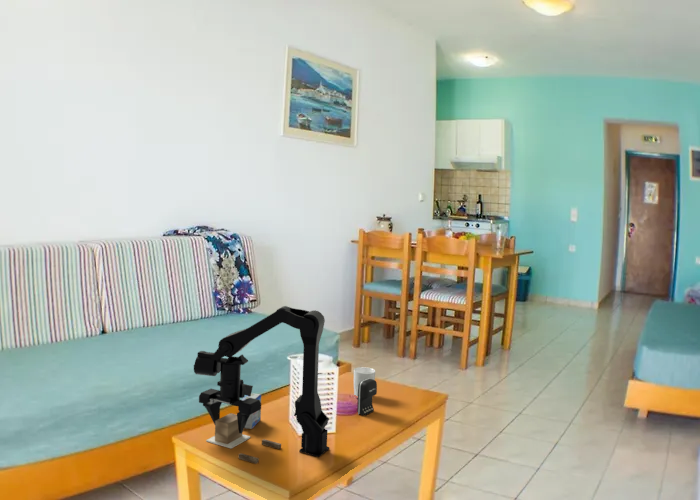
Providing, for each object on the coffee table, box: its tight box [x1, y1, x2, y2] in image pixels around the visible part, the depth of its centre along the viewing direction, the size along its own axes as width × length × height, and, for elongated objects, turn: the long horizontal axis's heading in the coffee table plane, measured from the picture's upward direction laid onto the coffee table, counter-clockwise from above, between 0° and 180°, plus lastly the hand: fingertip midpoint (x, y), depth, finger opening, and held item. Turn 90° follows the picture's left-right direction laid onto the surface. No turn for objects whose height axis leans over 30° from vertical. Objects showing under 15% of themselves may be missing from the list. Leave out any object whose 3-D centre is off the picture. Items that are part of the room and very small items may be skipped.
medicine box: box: [238, 392, 262, 430], centre depth 186 cm, size 8×4×9 cm, turn 168°
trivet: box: [205, 433, 251, 449], centre depth 174 cm, size 9×9×1 cm
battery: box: [356, 378, 378, 416], centre depth 200 cm, size 7×4×11 cm, turn 144°
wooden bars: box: [238, 438, 282, 465], centre depth 166 cm, size 6×12×1 cm, turn 153°
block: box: [214, 412, 243, 444], centre depth 173 cm, size 4×7×6 cm, turn 153°
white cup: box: [353, 366, 376, 396], centre depth 216 cm, size 8×8×10 cm
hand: (228, 429), depth 174 cm, fingers open, 8 cm apart
